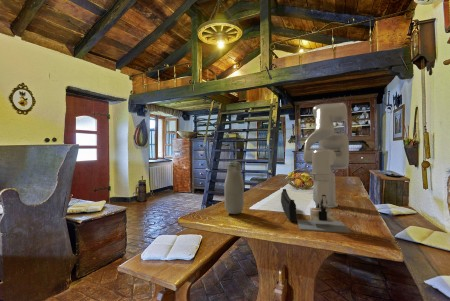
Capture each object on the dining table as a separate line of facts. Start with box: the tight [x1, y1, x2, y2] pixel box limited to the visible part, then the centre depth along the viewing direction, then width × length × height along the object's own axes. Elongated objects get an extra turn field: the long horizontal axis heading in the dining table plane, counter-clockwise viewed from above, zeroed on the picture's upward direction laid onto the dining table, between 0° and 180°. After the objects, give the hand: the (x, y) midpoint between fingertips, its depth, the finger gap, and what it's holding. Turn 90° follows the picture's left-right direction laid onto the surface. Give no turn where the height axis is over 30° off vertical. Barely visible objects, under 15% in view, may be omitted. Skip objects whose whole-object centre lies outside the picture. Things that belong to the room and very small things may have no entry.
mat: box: [296, 219, 351, 234], centre depth 105 cm, size 13×20×1 cm, turn 80°
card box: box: [309, 207, 334, 222], centre depth 104 cm, size 9×5×5 cm, turn 74°
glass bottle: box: [223, 160, 245, 215], centre depth 125 cm, size 10×10×28 cm
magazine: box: [280, 188, 298, 222], centre depth 123 cm, size 17×3×30 cm
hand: (321, 217), depth 104 cm, fingers closed on card box, 5 cm apart
